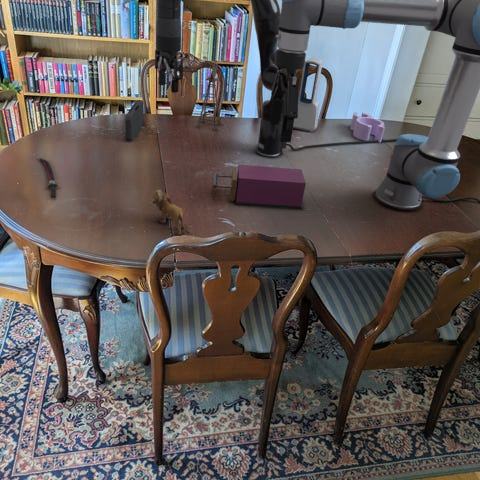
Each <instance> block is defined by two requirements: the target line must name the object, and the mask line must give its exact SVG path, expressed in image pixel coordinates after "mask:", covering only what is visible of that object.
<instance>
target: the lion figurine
mask: <svg viewBox="0 0 480 480" xmlns="http://www.w3.org/2000/svg"><path fill="white" fill-rule="evenodd" d="M154 191H155V192H154V194H153V196H152V197H150V198H149V200H150V201H151V203H152V204H153V205H155V206H156V207H158V209H159V211H160V212H161V217H162V219H161V220H160V223H162V224H163V223H166V222H167V220H171V219H173V223H174V225H175V227H176V229H177V231H176V235H178V236H180V235H182V229H183V230H184V232H185V233H186V234H188V235H190V234H191V232H190V231H189V230H187V229H186V227H185V221H184V220H185V219H184V218H185V213H184V210H183V209H182V208H181V207H179V206H177V205H176V204H175V203H173V200H172V198H171V197H170V195H169V194H168V192H166V191H164V190H162V189H156V190H154ZM179 221H180V223H179Z"/></svg>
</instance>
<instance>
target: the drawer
mask: <svg viewBox="0 0 480 480" xmlns="http://www.w3.org/2000/svg"><path fill="white" fill-rule="evenodd" d="M231 170H232V171H231V174H218V173H217V172H213V174H212V188H213V189H217V188H220V189H230V201H233V202H236V183H237V167H232V169H231ZM218 178H230V179H231V181H230V185H223V184H218Z"/></svg>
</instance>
